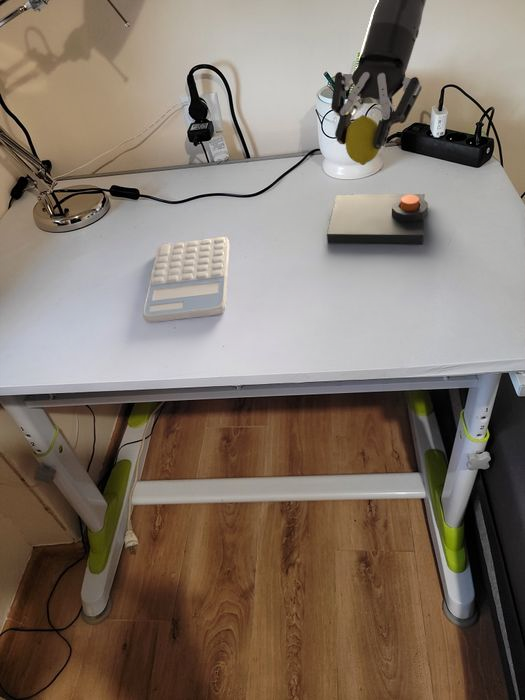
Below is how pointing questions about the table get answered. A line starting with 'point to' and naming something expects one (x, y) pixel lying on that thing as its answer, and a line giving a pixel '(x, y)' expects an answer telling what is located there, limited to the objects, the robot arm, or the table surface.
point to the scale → (376, 220)
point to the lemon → (361, 140)
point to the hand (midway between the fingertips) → (358, 144)
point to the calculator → (188, 280)
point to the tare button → (410, 202)
